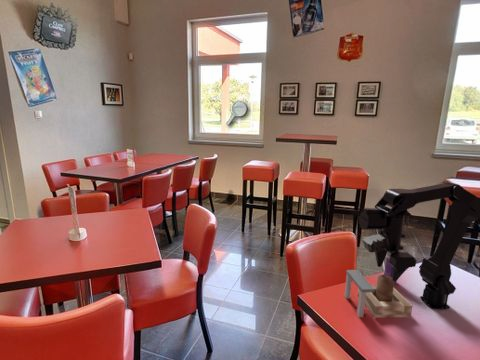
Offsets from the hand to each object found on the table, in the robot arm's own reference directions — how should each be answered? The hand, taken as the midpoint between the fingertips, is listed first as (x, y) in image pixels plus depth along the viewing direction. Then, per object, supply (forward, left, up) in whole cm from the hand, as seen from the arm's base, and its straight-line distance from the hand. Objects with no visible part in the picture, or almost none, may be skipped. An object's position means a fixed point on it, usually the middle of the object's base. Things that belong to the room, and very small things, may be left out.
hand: (386, 273), depth 96 cm
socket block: (0, 0, -12) cm, 12 cm away
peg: (0, 0, -11) cm, 11 cm away
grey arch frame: (+9, 0, -12) cm, 15 cm away
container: (-11, -15, -12) cm, 22 cm away
